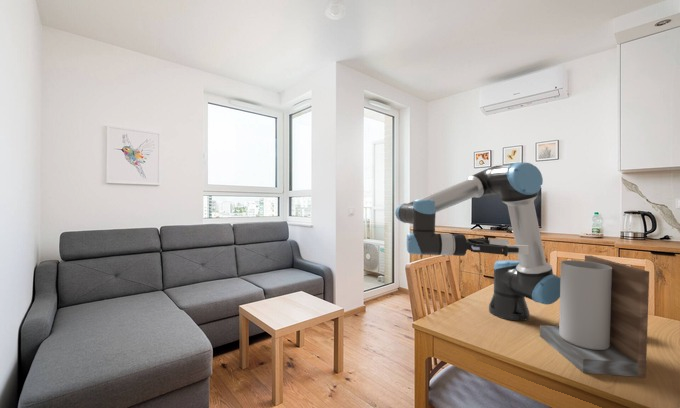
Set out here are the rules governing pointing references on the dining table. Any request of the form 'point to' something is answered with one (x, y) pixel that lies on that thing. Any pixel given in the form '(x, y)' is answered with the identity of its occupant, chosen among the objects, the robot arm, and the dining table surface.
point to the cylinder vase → (585, 304)
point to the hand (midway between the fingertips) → (517, 246)
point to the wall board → (614, 327)
